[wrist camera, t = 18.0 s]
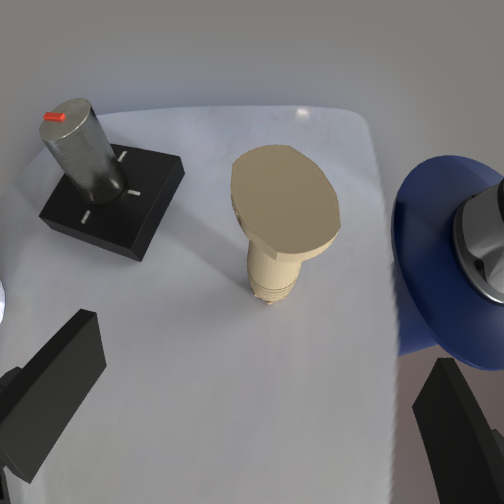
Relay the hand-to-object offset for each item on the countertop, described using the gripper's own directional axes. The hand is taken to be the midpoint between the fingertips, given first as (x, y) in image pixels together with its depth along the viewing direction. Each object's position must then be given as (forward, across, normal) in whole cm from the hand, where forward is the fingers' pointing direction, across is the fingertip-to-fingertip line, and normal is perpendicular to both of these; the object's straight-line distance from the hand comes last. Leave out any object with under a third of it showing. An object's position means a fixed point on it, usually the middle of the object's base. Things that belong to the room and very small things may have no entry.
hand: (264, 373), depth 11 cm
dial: (+20, -18, +2) cm, 27 cm away
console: (+22, -18, 0) cm, 29 cm away
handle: (+18, 0, -6) cm, 18 cm away
